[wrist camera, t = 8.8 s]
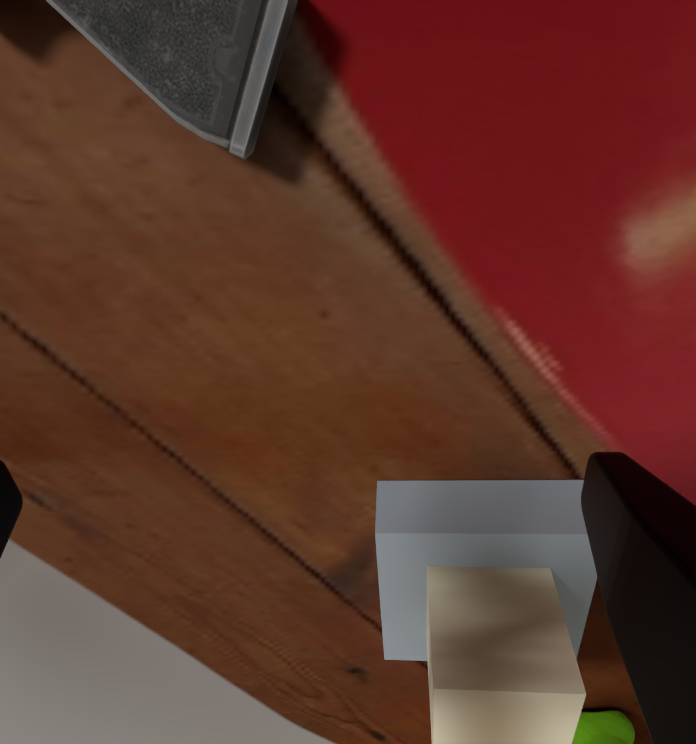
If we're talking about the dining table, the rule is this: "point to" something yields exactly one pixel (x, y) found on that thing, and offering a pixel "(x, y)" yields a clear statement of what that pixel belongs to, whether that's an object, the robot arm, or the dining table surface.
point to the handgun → (194, 57)
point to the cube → (500, 658)
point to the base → (476, 546)
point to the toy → (604, 728)
